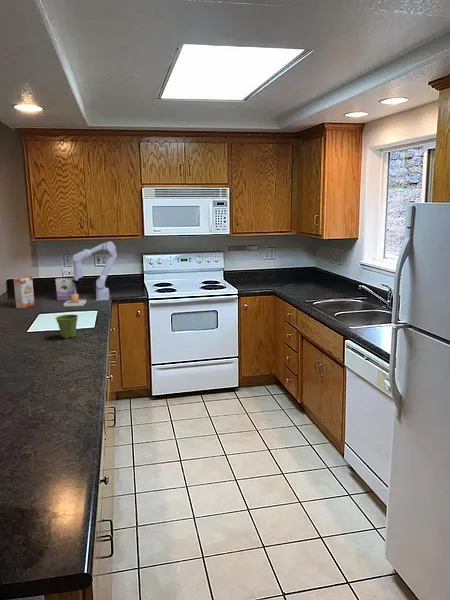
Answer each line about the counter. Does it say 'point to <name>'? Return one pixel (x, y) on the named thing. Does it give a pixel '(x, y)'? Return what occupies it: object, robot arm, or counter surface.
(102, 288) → the robot arm
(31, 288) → the cracker box
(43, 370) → the counter surface
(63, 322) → the plant pot
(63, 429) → the counter surface
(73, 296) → the peach small lump
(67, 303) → the tray
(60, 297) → the candy box
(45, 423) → the counter surface
